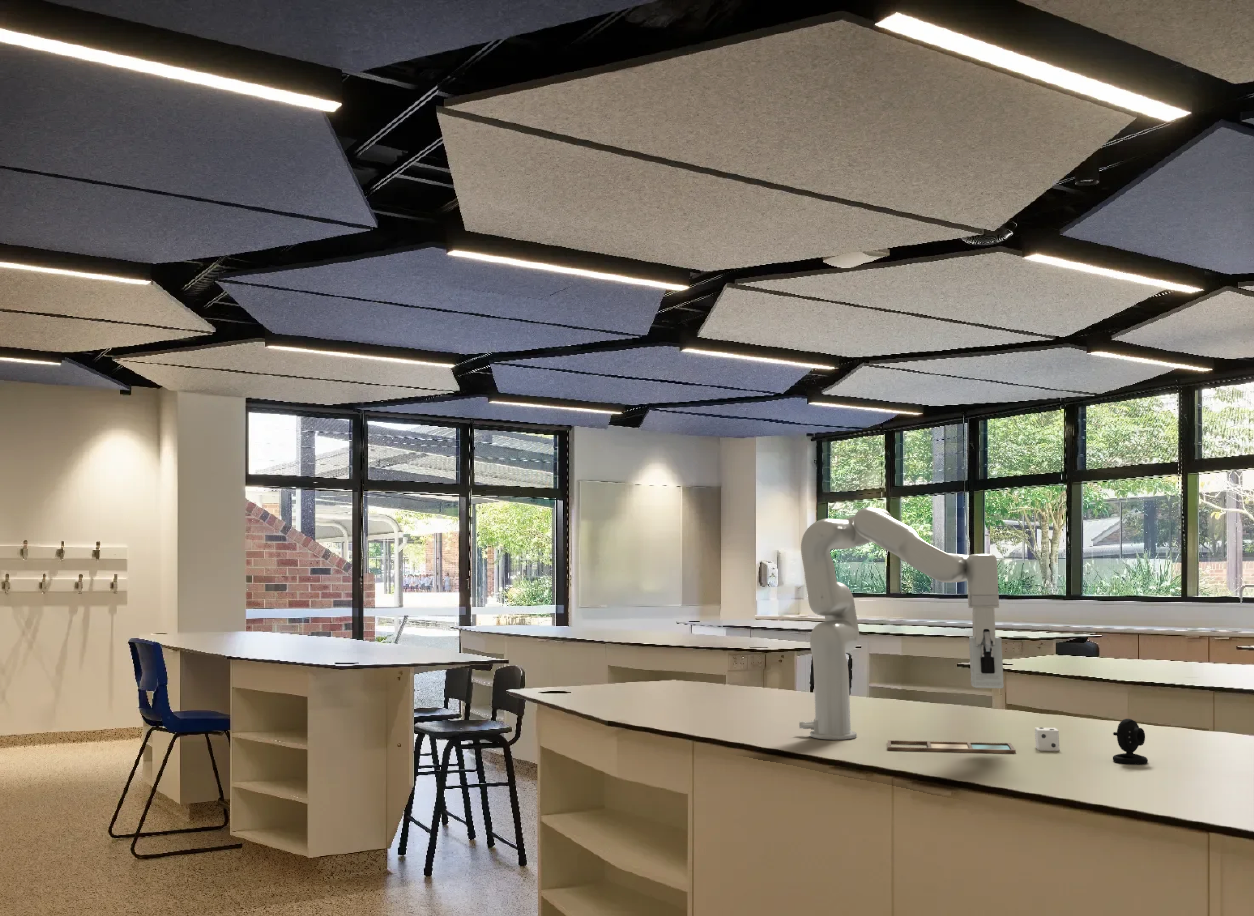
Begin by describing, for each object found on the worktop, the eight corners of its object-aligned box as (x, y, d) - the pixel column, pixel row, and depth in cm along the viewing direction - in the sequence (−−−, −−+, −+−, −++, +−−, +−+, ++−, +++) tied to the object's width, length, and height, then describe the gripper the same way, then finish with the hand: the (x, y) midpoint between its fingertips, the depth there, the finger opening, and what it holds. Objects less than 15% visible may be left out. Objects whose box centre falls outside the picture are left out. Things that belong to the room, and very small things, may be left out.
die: (1038, 750, 273) (1037, 729, 273) (1035, 747, 277) (1034, 726, 278) (1059, 751, 271) (1058, 730, 272) (1056, 747, 276) (1055, 727, 277)
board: (887, 750, 275) (887, 747, 275) (887, 743, 286) (887, 740, 286) (1015, 753, 268) (1015, 750, 268) (1010, 746, 279) (1010, 742, 279)
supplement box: (1004, 688, 272) (1002, 637, 274) (973, 688, 274) (971, 637, 275) (1000, 685, 279) (998, 635, 281) (970, 685, 281) (968, 635, 282)
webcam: (1136, 766, 249) (1134, 721, 250) (1106, 761, 255) (1103, 718, 256) (1154, 762, 254) (1151, 718, 255) (1124, 758, 260) (1121, 715, 261)
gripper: (965, 601, 288) (968, 668, 286) (970, 603, 271) (973, 674, 269) (995, 601, 286) (998, 668, 284) (1002, 603, 269) (1005, 675, 268)
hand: (986, 671), depth 277 cm, fingers closed on supplement box, 7 cm apart
